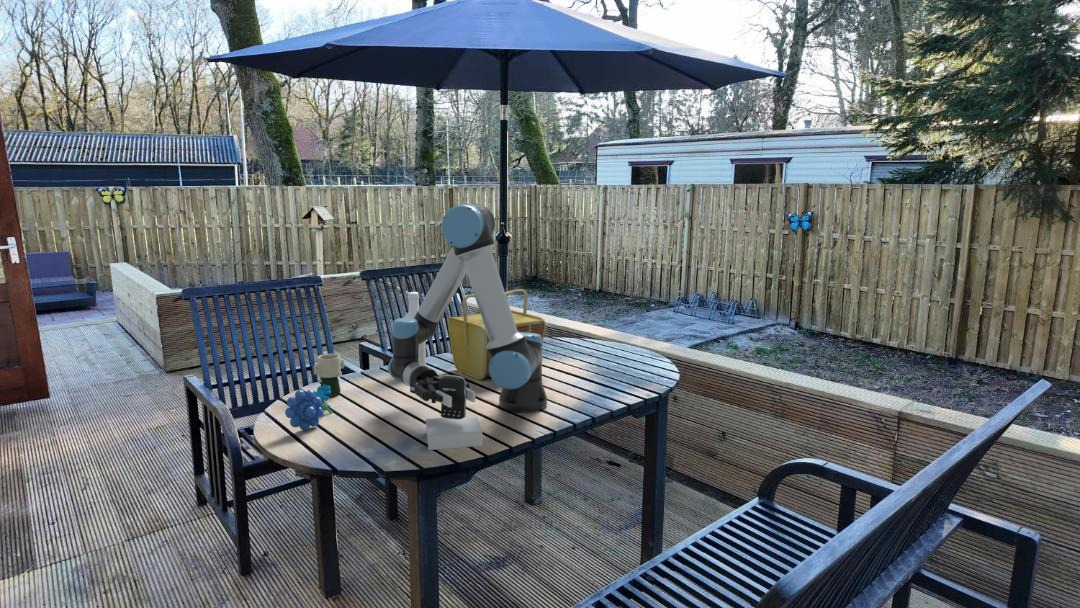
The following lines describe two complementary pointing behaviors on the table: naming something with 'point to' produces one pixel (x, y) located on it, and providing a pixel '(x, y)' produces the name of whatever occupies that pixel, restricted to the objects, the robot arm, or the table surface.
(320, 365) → the character mug
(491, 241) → the robot arm
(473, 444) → the stand
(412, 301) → the bottle
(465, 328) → the picnic basket
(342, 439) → the table surface
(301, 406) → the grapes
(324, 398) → the blue green lumpy piece
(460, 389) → the battery charger
